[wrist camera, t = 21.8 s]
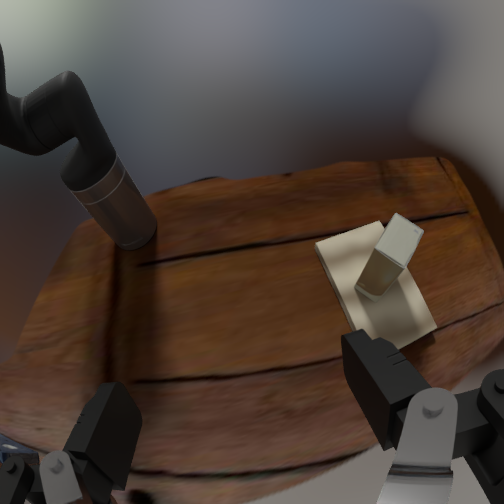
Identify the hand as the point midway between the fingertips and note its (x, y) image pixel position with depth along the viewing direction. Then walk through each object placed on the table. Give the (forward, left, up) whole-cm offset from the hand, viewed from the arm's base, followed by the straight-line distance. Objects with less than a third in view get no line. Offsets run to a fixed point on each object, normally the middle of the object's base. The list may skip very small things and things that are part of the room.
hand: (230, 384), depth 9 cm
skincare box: (-10, +19, -29) cm, 36 cm away
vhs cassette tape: (+4, -56, -31) cm, 64 cm away
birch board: (-9, +20, -31) cm, 37 cm away
